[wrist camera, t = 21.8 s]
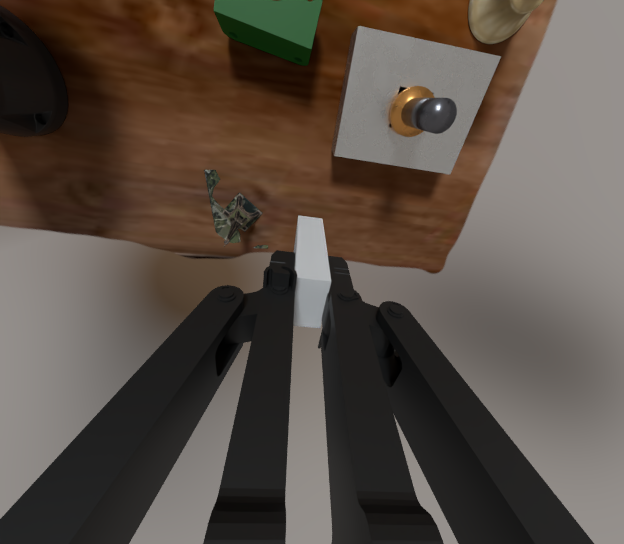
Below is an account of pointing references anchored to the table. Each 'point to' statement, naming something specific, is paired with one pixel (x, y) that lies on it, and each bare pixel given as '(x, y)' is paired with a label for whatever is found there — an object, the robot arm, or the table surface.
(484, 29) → the hand bell
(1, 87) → the robot arm
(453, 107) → the pin
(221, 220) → the eiffel tower figurine
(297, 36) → the clamp
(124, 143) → the table surface
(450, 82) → the hole block
